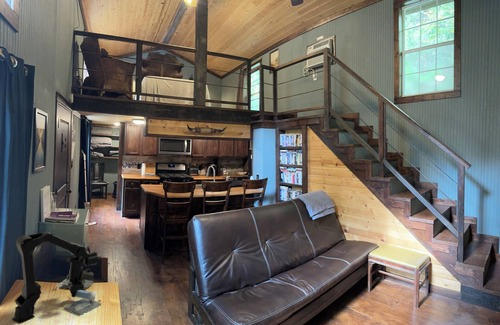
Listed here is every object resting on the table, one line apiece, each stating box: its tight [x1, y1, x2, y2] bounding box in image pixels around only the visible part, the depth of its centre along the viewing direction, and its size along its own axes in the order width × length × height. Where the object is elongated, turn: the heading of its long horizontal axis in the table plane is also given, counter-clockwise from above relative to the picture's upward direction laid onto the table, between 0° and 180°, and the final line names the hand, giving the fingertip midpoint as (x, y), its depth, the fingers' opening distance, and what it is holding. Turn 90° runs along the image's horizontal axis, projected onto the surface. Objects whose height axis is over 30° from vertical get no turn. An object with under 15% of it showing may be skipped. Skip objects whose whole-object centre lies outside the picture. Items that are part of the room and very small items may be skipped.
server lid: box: [64, 298, 102, 316], centre depth 150 cm, size 12×12×2 cm
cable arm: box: [70, 289, 97, 301], centre depth 155 cm, size 13×3×4 cm, turn 83°
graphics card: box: [56, 278, 94, 290], centre depth 171 cm, size 17×4×12 cm
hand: (73, 297), depth 153 cm, fingers closed
